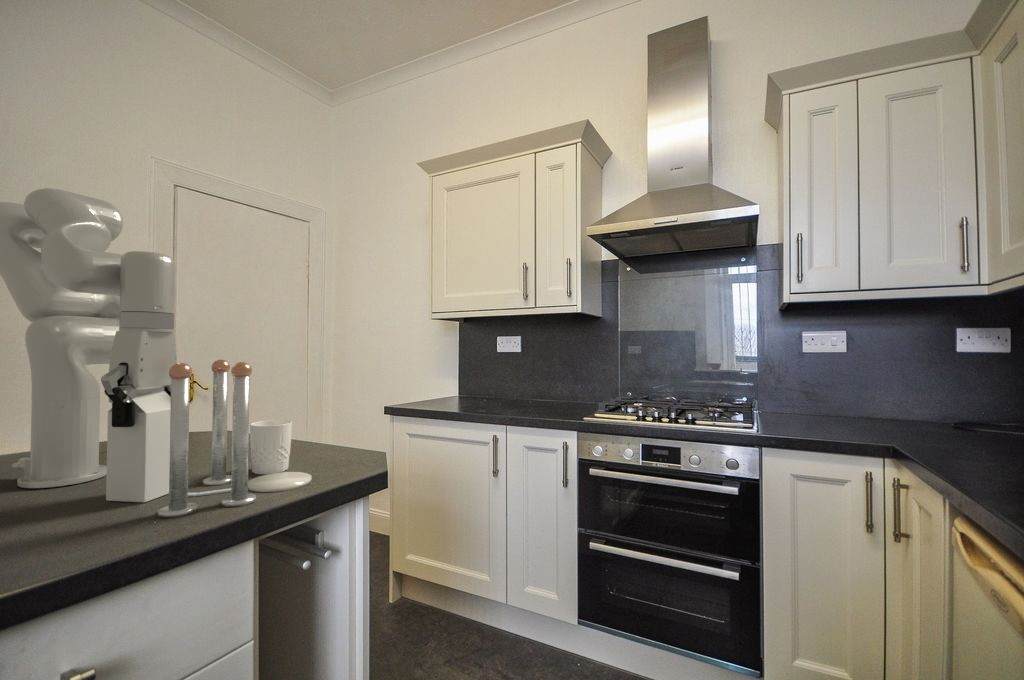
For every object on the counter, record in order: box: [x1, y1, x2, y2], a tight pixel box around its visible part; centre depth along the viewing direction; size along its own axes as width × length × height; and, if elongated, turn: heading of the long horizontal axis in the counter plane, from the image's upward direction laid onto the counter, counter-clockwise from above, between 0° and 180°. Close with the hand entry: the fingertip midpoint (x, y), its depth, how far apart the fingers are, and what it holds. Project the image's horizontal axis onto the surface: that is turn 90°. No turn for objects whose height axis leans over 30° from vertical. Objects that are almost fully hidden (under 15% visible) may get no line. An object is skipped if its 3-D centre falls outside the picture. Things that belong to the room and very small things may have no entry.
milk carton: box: [105, 387, 171, 503], centre depth 79 cm, size 7×7×19 cm
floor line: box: [188, 487, 231, 497], centre depth 81 cm, size 11×2×1 cm, turn 112°
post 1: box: [157, 362, 198, 519], centre depth 72 cm, size 5×5×24 cm
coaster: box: [248, 471, 313, 493], centre depth 87 cm, size 11×11×1 cm
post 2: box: [202, 359, 231, 487], centre depth 88 cm, size 5×5×24 cm
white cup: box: [249, 419, 293, 475], centre depth 96 cm, size 8×8×10 cm
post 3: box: [221, 361, 257, 508], centre depth 77 cm, size 5×5×24 cm
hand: (145, 421), depth 79 cm, fingers open, 9 cm apart
